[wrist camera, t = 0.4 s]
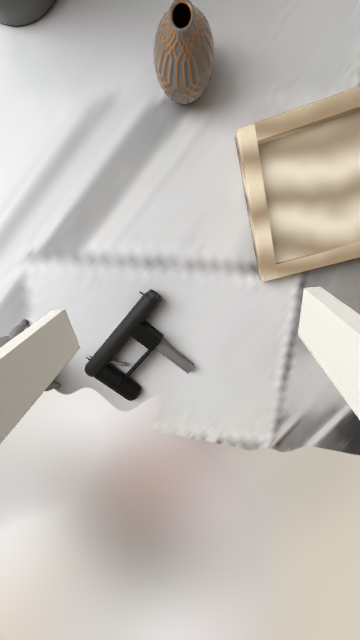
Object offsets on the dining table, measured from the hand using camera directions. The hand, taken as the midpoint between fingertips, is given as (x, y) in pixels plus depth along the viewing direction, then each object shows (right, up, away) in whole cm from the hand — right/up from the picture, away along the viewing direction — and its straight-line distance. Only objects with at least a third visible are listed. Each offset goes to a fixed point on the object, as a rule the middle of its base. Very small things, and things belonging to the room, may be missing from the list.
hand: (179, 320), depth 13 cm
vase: (+1, +31, +17) cm, 36 cm away
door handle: (-6, -6, +29) cm, 30 cm away
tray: (+20, +18, +20) cm, 33 cm away
